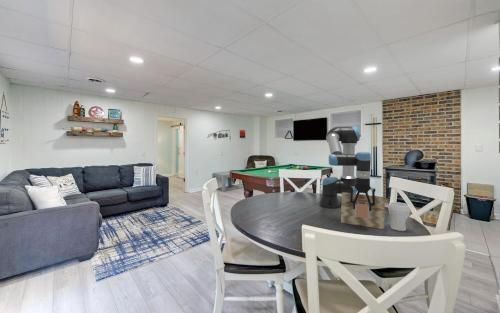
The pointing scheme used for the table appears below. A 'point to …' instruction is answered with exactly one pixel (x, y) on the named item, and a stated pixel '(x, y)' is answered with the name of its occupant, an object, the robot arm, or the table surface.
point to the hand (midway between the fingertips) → (361, 215)
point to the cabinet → (362, 208)
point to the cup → (398, 215)
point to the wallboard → (350, 218)
